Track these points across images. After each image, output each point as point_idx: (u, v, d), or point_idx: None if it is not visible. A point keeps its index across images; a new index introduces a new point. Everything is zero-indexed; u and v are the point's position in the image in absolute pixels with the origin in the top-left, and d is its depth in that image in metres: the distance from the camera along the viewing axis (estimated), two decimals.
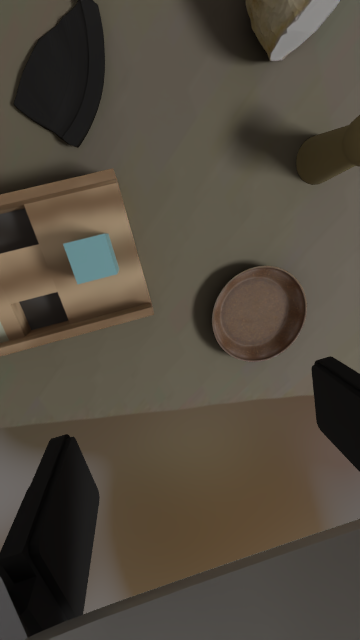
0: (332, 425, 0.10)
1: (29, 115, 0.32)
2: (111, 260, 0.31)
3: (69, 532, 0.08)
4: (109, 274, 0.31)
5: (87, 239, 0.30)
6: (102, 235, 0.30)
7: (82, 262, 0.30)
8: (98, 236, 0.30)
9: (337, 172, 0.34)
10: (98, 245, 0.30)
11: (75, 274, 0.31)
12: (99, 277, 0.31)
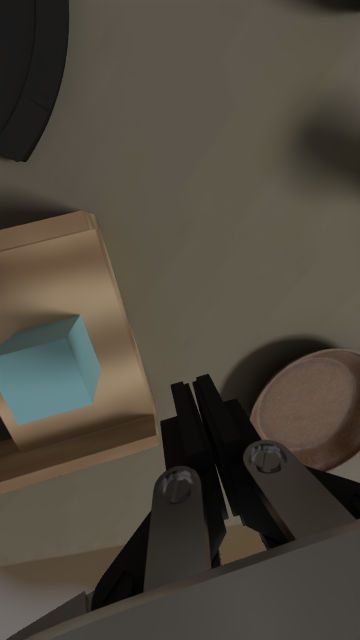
0: (207, 437, 0.11)
1: None
2: (81, 382, 0.16)
3: None
4: (78, 405, 0.17)
5: (32, 350, 0.15)
6: (62, 341, 0.15)
7: (24, 389, 0.16)
8: (54, 343, 0.15)
9: None
10: (55, 358, 0.16)
11: (13, 409, 0.16)
12: (59, 411, 0.17)
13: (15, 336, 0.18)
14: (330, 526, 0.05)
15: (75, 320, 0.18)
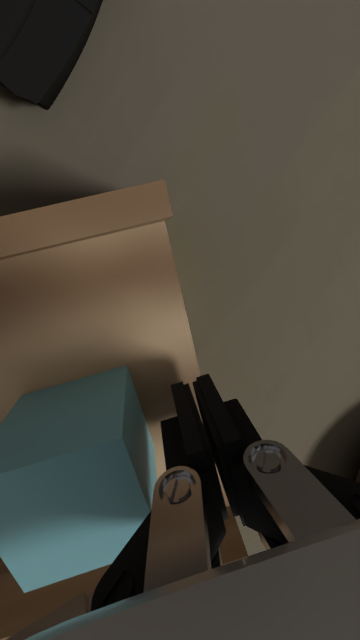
0: (207, 437, 0.11)
1: None
2: (145, 512, 0.09)
3: None
4: None
5: (55, 462, 0.08)
6: (114, 444, 0.08)
7: (37, 533, 0.08)
8: (98, 448, 0.08)
9: None
10: (99, 474, 0.08)
11: (14, 568, 0.08)
12: (102, 563, 0.09)
13: (19, 409, 0.10)
14: (330, 526, 0.05)
15: (123, 380, 0.11)
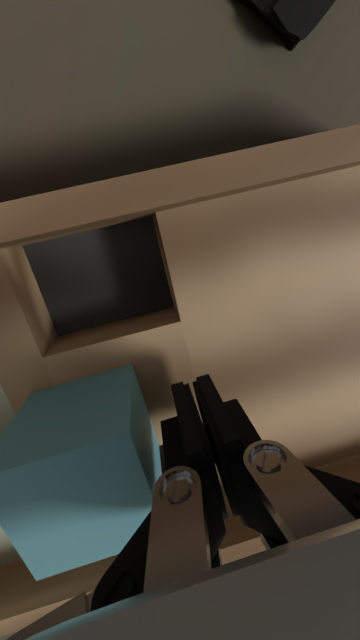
0: (207, 437, 0.11)
1: None
2: (151, 505, 0.09)
3: None
4: None
5: (66, 457, 0.08)
6: (122, 440, 0.08)
7: (48, 524, 0.09)
8: (107, 444, 0.08)
9: None
10: (108, 468, 0.08)
11: (27, 557, 0.09)
12: (110, 553, 0.09)
13: (29, 406, 0.11)
14: (330, 526, 0.05)
15: (129, 378, 0.11)
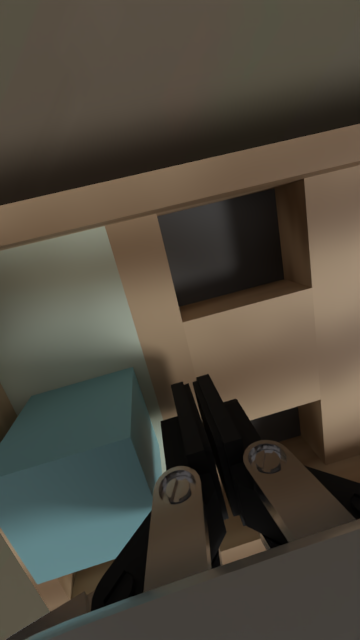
0: (207, 437, 0.11)
1: None
2: None
3: None
4: None
5: (67, 461, 0.08)
6: (123, 444, 0.08)
7: (49, 528, 0.09)
8: (108, 448, 0.08)
9: None
10: (108, 472, 0.08)
11: (28, 561, 0.09)
12: (111, 557, 0.09)
13: (30, 410, 0.11)
14: (330, 526, 0.05)
15: (129, 381, 0.11)
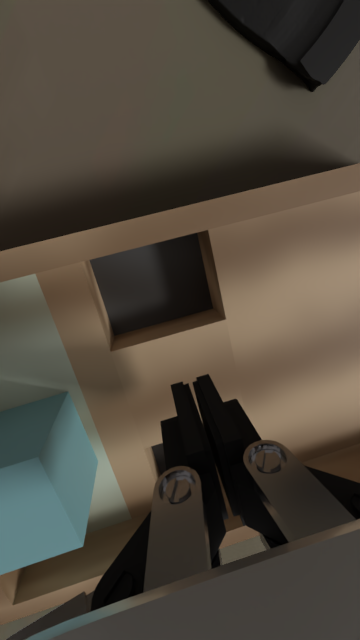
0: (207, 437, 0.11)
1: (228, 4, 0.13)
2: (64, 518, 0.10)
3: None
4: (60, 550, 0.11)
5: None
6: (32, 462, 0.10)
7: None
8: (19, 466, 0.10)
9: None
10: (22, 486, 0.10)
11: None
12: (31, 561, 0.11)
13: None
14: (330, 526, 0.05)
15: (59, 405, 0.13)
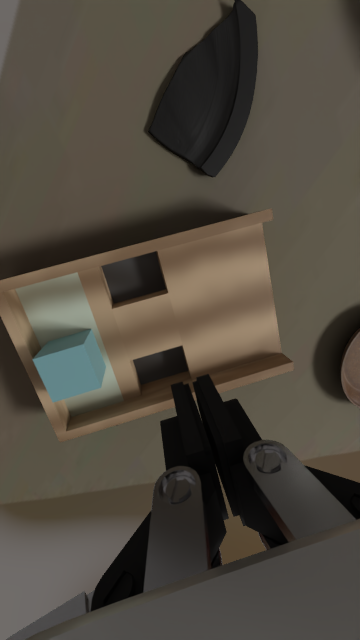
0: (207, 437, 0.11)
1: (165, 143, 0.27)
2: (93, 373, 0.25)
3: None
4: (91, 388, 0.26)
5: (62, 352, 0.24)
6: (81, 346, 0.24)
7: (57, 378, 0.25)
8: (76, 347, 0.24)
9: None
10: (76, 357, 0.25)
11: (49, 391, 0.25)
12: (79, 392, 0.25)
13: (48, 344, 0.27)
14: (330, 526, 0.05)
15: (88, 332, 0.27)
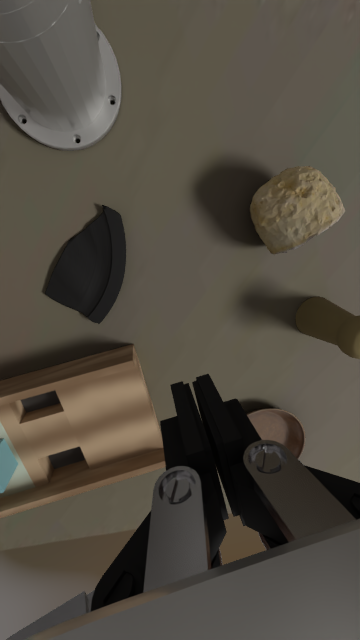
0: (207, 437, 0.11)
1: (58, 301, 0.35)
2: None
3: None
4: None
5: None
6: None
7: None
8: None
9: None
10: None
11: None
12: None
13: None
14: (330, 526, 0.05)
15: None
